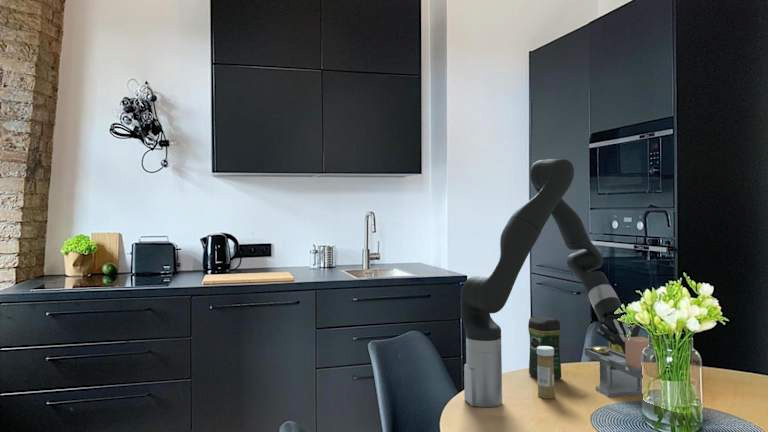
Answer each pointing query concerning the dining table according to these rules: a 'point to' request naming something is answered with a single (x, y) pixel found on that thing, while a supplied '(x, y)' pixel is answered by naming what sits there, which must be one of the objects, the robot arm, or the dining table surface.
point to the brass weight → (601, 350)
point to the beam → (615, 361)
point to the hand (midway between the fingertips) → (632, 356)
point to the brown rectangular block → (635, 351)
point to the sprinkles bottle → (545, 372)
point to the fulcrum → (617, 381)
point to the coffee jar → (544, 342)
